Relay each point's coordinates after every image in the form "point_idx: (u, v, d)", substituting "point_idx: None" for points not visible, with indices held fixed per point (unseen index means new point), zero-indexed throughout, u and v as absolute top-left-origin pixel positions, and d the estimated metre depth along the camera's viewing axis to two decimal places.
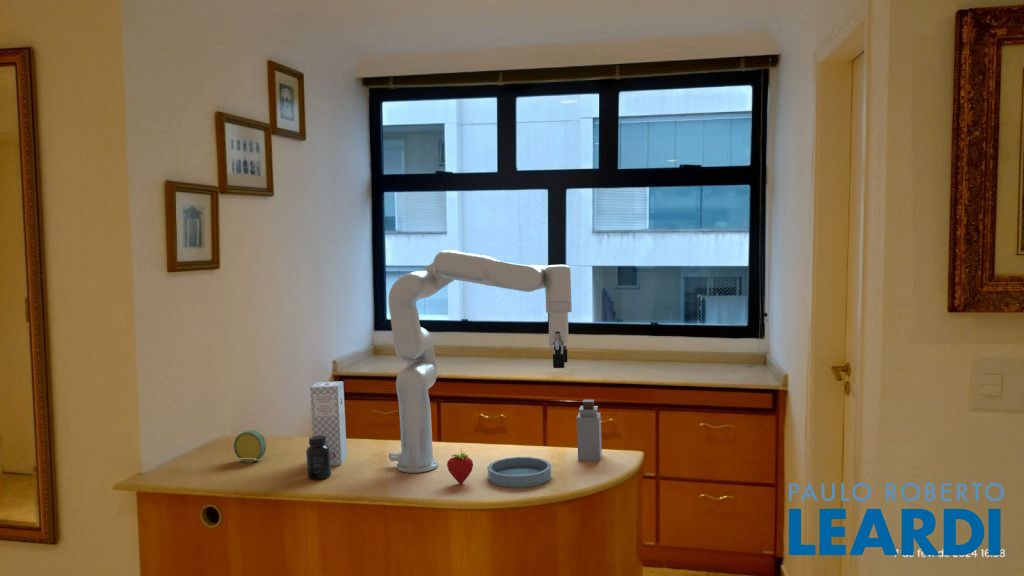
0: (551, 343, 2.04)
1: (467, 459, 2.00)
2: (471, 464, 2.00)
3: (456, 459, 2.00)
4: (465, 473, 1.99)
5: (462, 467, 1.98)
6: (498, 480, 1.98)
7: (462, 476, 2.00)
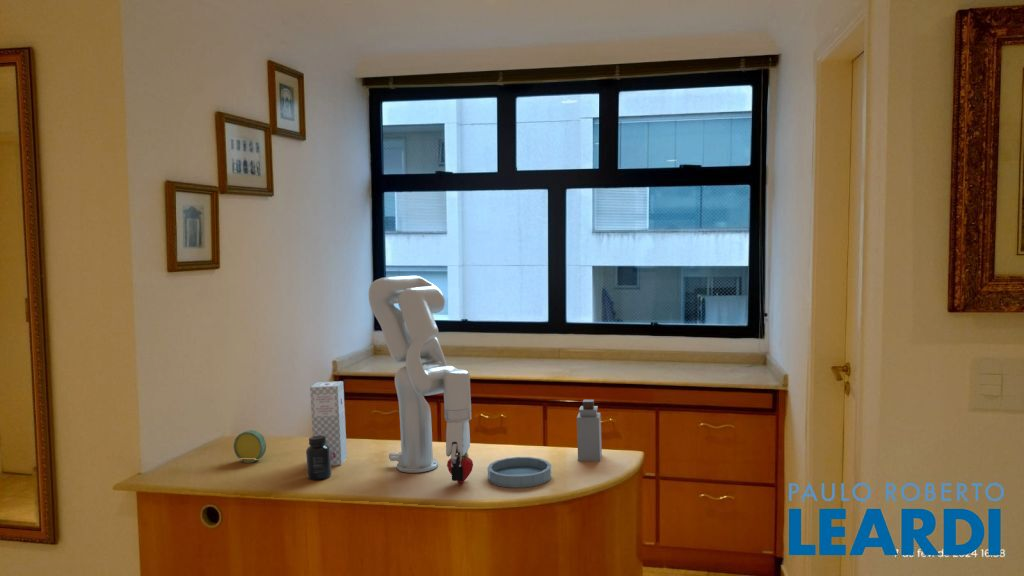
0: (448, 453, 1.97)
1: (467, 459, 2.00)
2: (471, 464, 2.00)
3: None
4: (465, 473, 1.99)
5: None
6: (498, 480, 1.98)
7: None
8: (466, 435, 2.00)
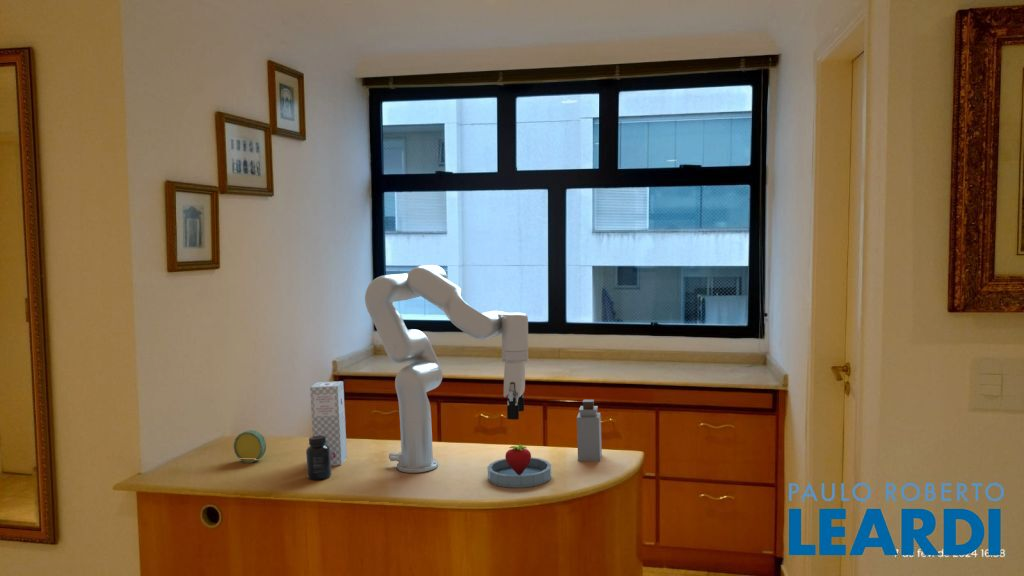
0: (506, 394, 1.99)
1: (525, 450, 2.04)
2: (529, 455, 2.03)
3: (515, 451, 2.03)
4: (524, 464, 2.02)
5: (521, 459, 2.02)
6: (498, 480, 1.98)
7: (521, 468, 2.03)
8: (523, 377, 2.02)
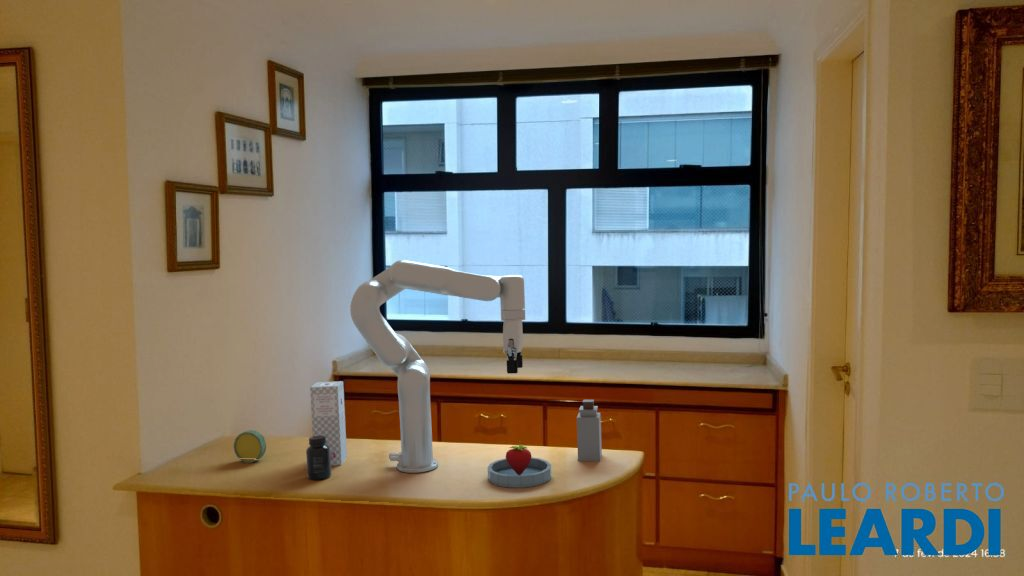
0: (505, 350, 2.15)
1: (526, 451, 2.04)
2: (530, 455, 2.03)
3: (515, 451, 2.03)
4: (524, 464, 2.02)
5: (521, 459, 2.02)
6: (498, 480, 1.98)
7: (521, 468, 2.03)
8: (521, 334, 2.18)
